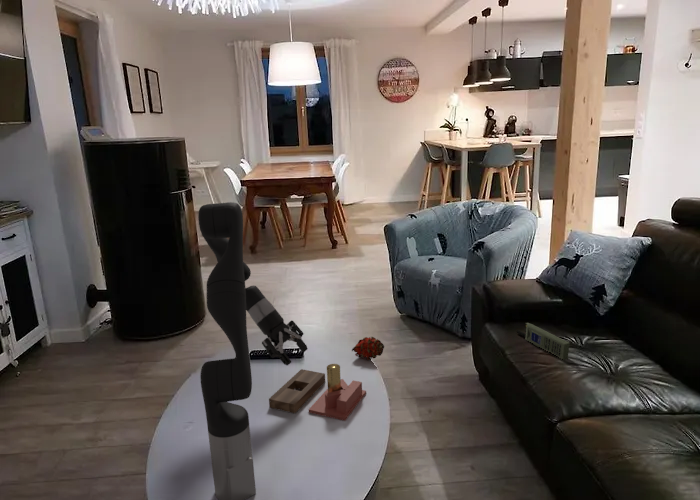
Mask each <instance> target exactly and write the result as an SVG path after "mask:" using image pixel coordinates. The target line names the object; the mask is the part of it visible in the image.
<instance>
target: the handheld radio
mask: <svg viewBox="0 0 700 500" xmlns="http://www.w3.org/2000/svg"><path fill="white" fill-rule="evenodd" d="M516 334H519V335H521V336H522V337H524V338H525V340H526V342H528V341H529V343H530V342H531V343H530V344H532V343H533V345H534V346H536V347H538V348H539V347H540V348H539V349H541V348H542V350H543V349H544V350H543V351H545V350H547V351H549V352H551V353H553V354H554V355H556V356H558V357H559V358H558V357H557V358H558V359H560V358H561V359H560V360H562V359H563V360H562V361H566V360H565V359H567V360H568V359H569V350H570V342H569V341H566V340H565V339H562V338H561V337H558V336H557V335H555V334H552V333H550V332H548V331H546V330H544V329H543V328H541V327H538V326H536V325H534V324H532V323H529V322H525V330H524V332H523V331H521V330H520V329H517V330H516ZM547 351H546V352H547ZM549 352H548V353H549ZM554 355H553V356H554ZM556 356H555V357H556Z"/></svg>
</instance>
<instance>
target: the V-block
mask: <svg viewBox="0 0 700 500" xmlns="http://www.w3.org/2000/svg"><path fill="white" fill-rule="evenodd" d="M340 379H341V390H339V391H334V392H330V393H328V388H327V389H326V390H325V391H324V392H323V393H322V394H321V395H320V396H319V397H318V398H317V400H316V401H315V402H314V403H313V404H312V405H311V406H310V407H309V408H308V413H310V414H314V415H318V416H323V417H326V418H331V419H335V420H339V421H344V422H346V421H347V419H348V418H349V416H351V414H352V412H353V411H354V410H355V409H356V408H357V406H358V405H359V403H361V401H362V400H363V398H364V397H365V396H366V394H367V390H364V389H363V382H362V381H358V380H353V379H352V381H351V382H350V383H349V385H348V384H347V382H346V381H345V380H344V378H340Z"/></svg>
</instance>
